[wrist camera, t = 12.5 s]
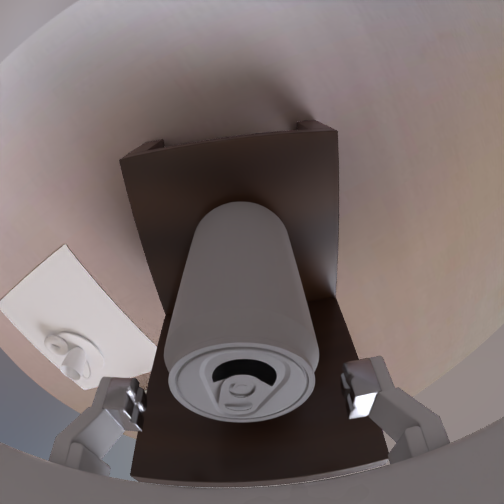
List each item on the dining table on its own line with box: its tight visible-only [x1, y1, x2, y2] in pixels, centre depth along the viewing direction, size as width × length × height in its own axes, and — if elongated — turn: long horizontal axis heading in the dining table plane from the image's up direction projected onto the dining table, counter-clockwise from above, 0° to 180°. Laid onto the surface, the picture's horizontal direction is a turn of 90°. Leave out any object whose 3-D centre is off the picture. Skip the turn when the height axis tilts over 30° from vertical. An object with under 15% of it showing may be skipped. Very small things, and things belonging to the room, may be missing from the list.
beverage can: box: [164, 202, 319, 422], centre depth 16 cm, size 6×6×12 cm
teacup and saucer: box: [43, 332, 105, 381], centre depth 34 cm, size 9×8×4 cm
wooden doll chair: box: [119, 120, 389, 487], centre depth 18 cm, size 14×14×20 cm
